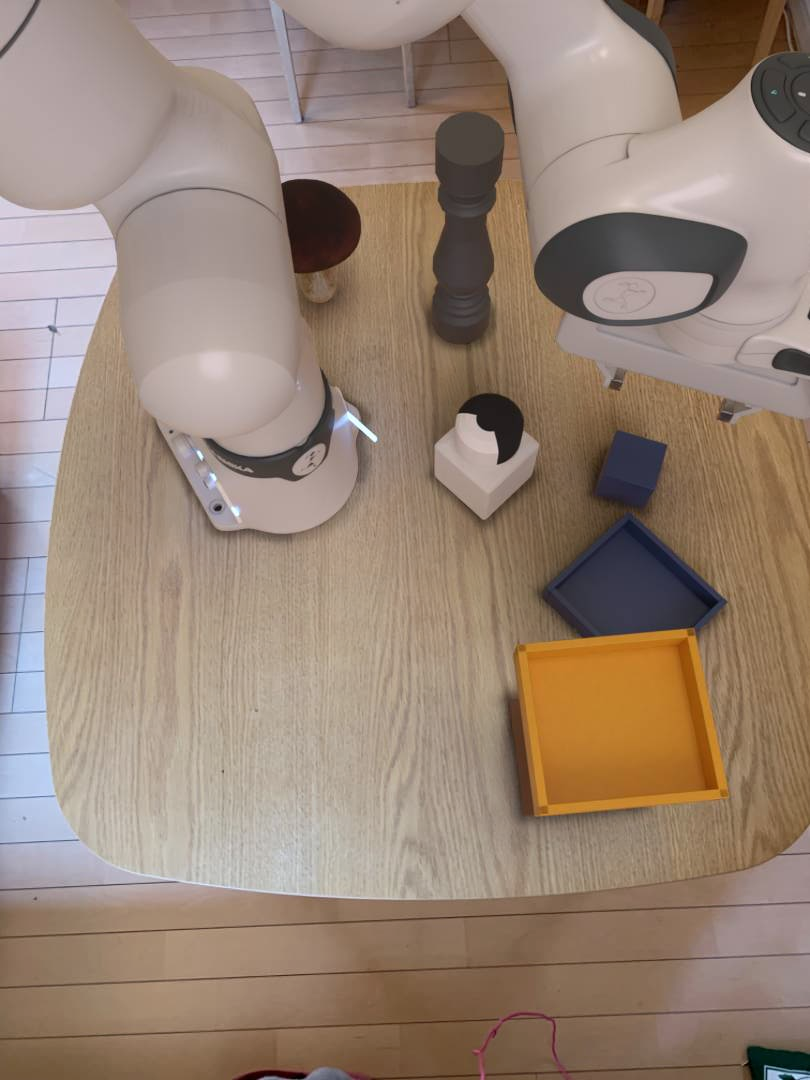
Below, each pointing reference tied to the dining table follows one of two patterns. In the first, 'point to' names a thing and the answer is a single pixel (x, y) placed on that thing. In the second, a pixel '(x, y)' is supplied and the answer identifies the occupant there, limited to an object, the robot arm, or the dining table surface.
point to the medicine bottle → (486, 453)
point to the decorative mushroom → (319, 233)
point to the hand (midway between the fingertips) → (669, 398)
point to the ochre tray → (614, 724)
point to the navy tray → (631, 586)
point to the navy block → (630, 469)
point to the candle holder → (465, 224)
